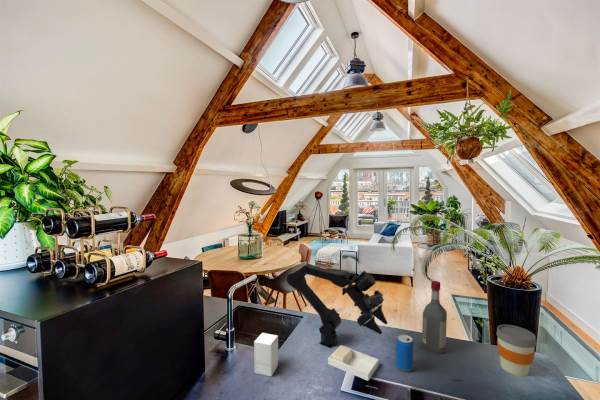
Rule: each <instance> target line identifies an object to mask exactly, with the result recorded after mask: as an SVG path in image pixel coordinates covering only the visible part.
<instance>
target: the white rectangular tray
mask: <svg viewBox="0 0 600 400" xmlns="http://www.w3.org/2000/svg"><path fill="white" fill-rule="evenodd" d="M341 346H342V345H340V346H338V348H337V349H336V350H334V352H332V353H331V354H330V355H329V357H328V358H327V363H328V365H329V366H332V367H335V368H336V369H339V370H342V371H343V372H346V373H348V374H351V375H353V376H356V377H358V378H361V379H362V380H365V381H369V380H370V379H371V377H372V376H373V374H374V373H375V372H376V370H377V369H378V367H379V365H380V363H379V361H380V360H379V358H376V357H373V356H371V355H368V354H366V353H363V352H360V351H357V350H355V349H352V358H351V359H350V361H349V362H348V363H347V364H345V363H342V362H340V361H337V360H335V359H332V355H333V354H334V353H335V352H336V351H337V350H338V349H339V348H340V347H341Z"/></svg>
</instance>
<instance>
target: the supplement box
mask: <svg viewBox="0 0 600 400" xmlns="http://www.w3.org/2000/svg"><path fill="white" fill-rule="evenodd" d="M253 346H254V347H253V351H254V352H253V353H254V354H253V357H254V359H253V360H254V362H253V363H254V364H253V365H254V374H256V375H257V374H258V375H262V376H265V377H266V376H267V377H272V376H273V375H274V373H275V371H276V370H277V368H278V366H279V335H276V334H272V333H271V334H270V333H266V332H261V334H259V336H258V337H257V338H255V340H254V341H253Z"/></svg>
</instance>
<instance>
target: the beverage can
mask: <svg viewBox="0 0 600 400" xmlns="http://www.w3.org/2000/svg"><path fill="white" fill-rule="evenodd" d="M395 339H396V340H395V367H397V369H399V370H400V371H402V372H411V371H412V370H413V369H414V341H413V337H411V336H410V335H407V334H398V335H397V337H396V338H395Z"/></svg>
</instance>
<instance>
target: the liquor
mask: <svg viewBox="0 0 600 400" xmlns="http://www.w3.org/2000/svg"><path fill="white" fill-rule="evenodd" d="M430 283H431V284H430V289H431V297H430V302H429V303H428V304H426V305H425V307H424V309H423V312H422V324H421V325H422V329H421V331H422V332H421V346H422V348H423V349H424V350H425V351H426V352H431V353H434V354H436V355H441V354H444V353H445V351H446V347H447V323H448V322H447V318H448V313H447V310H446V309H445V308H444V307H443V306H442V304H441V302H440V291H441V281H439V280H431V282H430Z"/></svg>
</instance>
